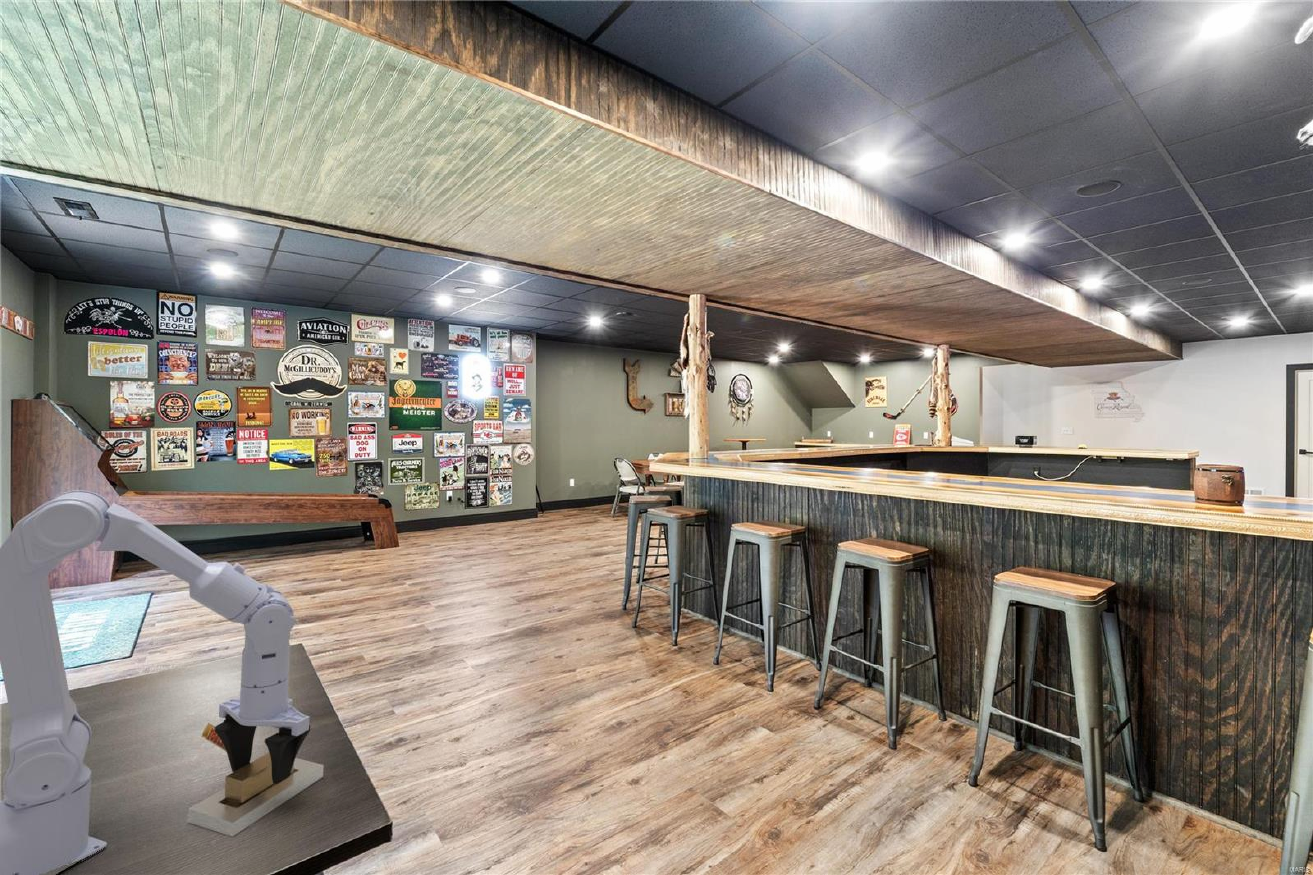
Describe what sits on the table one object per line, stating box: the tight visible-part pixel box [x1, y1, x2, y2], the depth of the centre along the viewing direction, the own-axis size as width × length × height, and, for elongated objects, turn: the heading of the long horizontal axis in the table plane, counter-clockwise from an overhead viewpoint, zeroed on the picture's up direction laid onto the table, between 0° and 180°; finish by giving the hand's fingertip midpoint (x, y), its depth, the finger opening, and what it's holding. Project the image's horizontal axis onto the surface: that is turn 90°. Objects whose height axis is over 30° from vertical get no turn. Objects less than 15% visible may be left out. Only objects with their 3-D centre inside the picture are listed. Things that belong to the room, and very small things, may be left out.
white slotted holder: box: [187, 757, 324, 837], centre depth 82 cm, size 14×8×2 cm, turn 164°
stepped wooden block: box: [224, 752, 294, 808], centre depth 82 cm, size 8×3×5 cm, turn 164°
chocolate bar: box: [201, 722, 226, 752], centre depth 96 cm, size 3×12×2 cm, turn 60°
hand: (260, 774), depth 82 cm, fingers open, 7 cm apart
